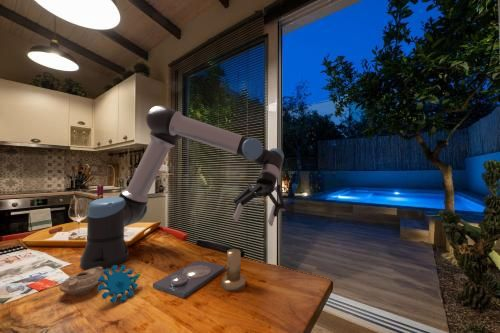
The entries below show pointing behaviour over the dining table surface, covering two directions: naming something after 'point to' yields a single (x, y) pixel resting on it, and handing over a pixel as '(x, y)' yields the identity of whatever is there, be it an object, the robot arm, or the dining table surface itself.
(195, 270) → the carrier plate
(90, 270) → the pottery oil lamp
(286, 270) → the dining table surface
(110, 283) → the gear
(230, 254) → the metal knob
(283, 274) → the dining table surface
